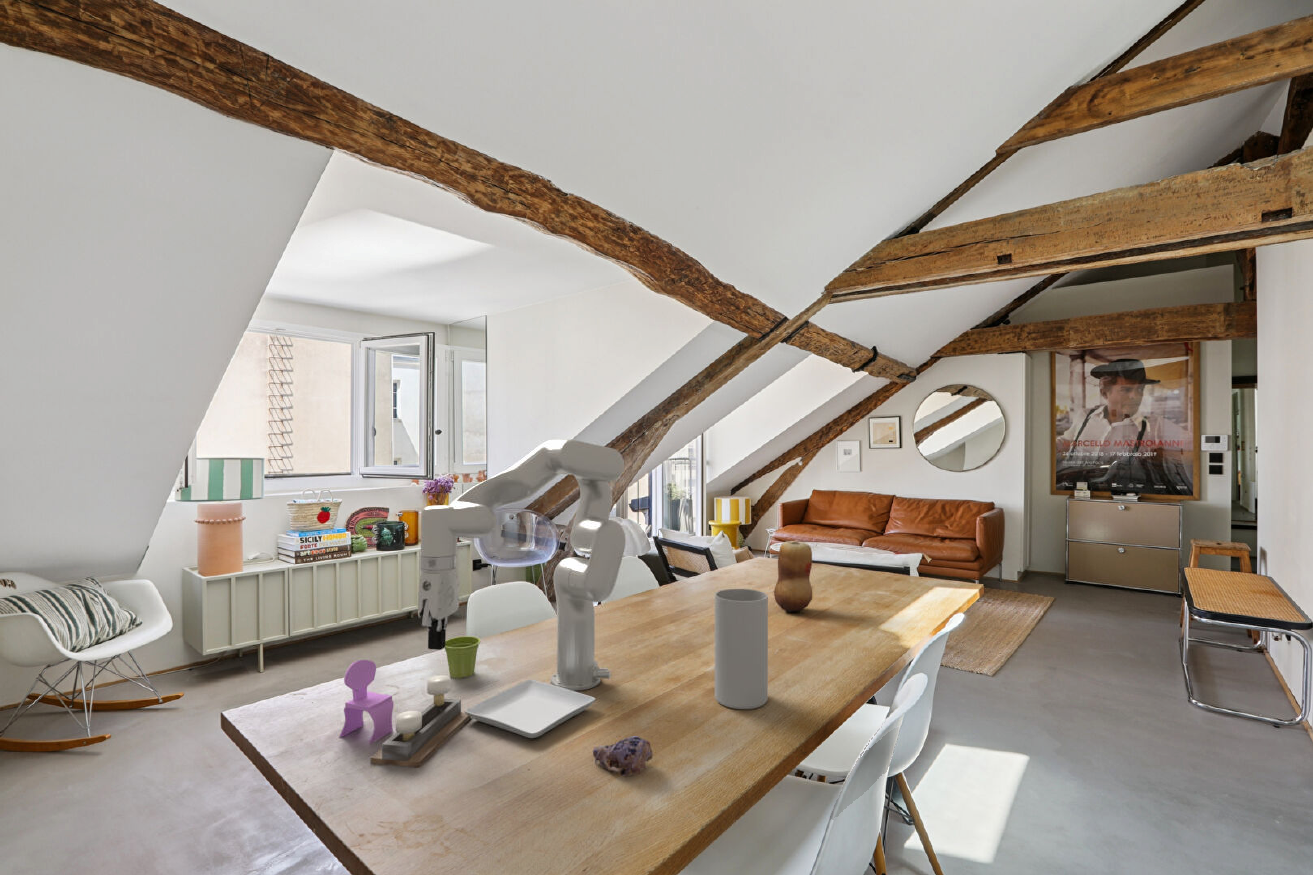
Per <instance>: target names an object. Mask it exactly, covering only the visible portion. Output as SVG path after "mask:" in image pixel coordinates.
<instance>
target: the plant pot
mask: <svg viewBox="0 0 1313 875" xmlns="http://www.w3.org/2000/svg"><path fill="white" fill-rule="evenodd" d="M480 643H481V639H480V637H477V636H472V635H471V636H470V635H469V636H468V635H467V636H455V637H453V638H452V637H451V638H449V639H447V640H445V647H444V651H445V652H446V658H447V665H448V671H449V672H448V673H449V677H450V678H451V679H452V678H453V679H460V680H461V679H463V678H466V677H467V678H469V677H471V676H473V675H474V674H475V667H476V661H477V660H476V659H477V655H478V648H479V645H480Z"/></svg>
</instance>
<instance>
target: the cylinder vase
mask: <svg viewBox="0 0 1313 875" xmlns="http://www.w3.org/2000/svg"><path fill="white" fill-rule="evenodd" d="M768 600H769V595H768V594H767V593H766V592H763V591H760V590H756V589H750V588H727V589H721V590H718V591H716V592H715V593H714V698H715V700H716V701H717V702H718V703H719V704H720V705H722V706H724V707H727V708H730V709H736V710H754V709H758V708H761V707H762V706H764V705H765V704H766V703H767V701H768V696H769V695H768V691H769V689H768V686H769V685H768V682H769V681H768V678H769V677H768V674H769V672H768V670H769V668H768V667H769V665H768V660H769V659H768V658H769V657H768V656H769V655H768V654H769V651H768V649H769V647H768V645H769V643H768V641H769V640H768V638H769V636H768V634H769V632H768V631H769V624H768V623H769V622H768V621H769V618H768V617H769V611H768V610H769V603H768V602H769V601H768Z"/></svg>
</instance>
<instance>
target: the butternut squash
mask: <svg viewBox="0 0 1313 875" xmlns="http://www.w3.org/2000/svg"><path fill="white" fill-rule="evenodd" d="M812 565H813V551H812V548H811V546H810V545H809V544H807V543H805V542H801V541H796V540H790V541H789V540H788V541H787V540H786V541H785V542H783V543H781V545H780V547H779V550H778V557H777V574H778V577H777V582H776V583H775V586H774V590H773V597H774V601H775V602H776V604H777V605H778V606H779V607H780V609H782V610H783V611H784V612H786V613H792V612H793V613H798V612H802V611H803V610H804V609H805V608H808V606H809V605H810V603H811V602H812V600H813V588H812V585H811V581H810V576H811V571H812Z"/></svg>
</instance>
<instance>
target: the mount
mask: <svg viewBox="0 0 1313 875" xmlns="http://www.w3.org/2000/svg"><path fill="white" fill-rule="evenodd" d="M420 712H421V711H420ZM421 713H422V727H421V729H419V730H418V731H416V732H415V736H413V737H412V738H411V739H410V740H409V741H408V742H403V734H402V733H398V732H395V733H394V734H393V735H392V736H390V737H389V738H388V739H387V740H386V741H384V742H382V744H381V749H379V750H378V751H377V752H375V754H373V755H372V756H371V757H370V764H377V765H378V764H379V765H385V766H386V765H388V766H399V767H409V768H410V767H411V768H420V767H421V766H422V765H423V764H424V763H425V762H426V761H427V760H429V758H431V757H432V756H433V755H434V754H435V753H436V752H437V751H438V750H439V749H440V748H441V747H442V746H443V745H444V744H445V743H446V742H447V741H449V739H450V738H451V737H453V735H455V734H456V733H457V732H458V731H459V730H460V729H461V728H462V727H463V726H464V725H465V724H466V723H467V722H468V721H469V720H470V719H472V718H471V717H469V716H468V715H467V714H466V713H465V712H464V711H463V712H462V700H461V699H457V698H456V699H454V698H444V704H443V705H440V706H435V705H434V702H433V703H431V704H430V705H428V706H427V707H426V708H425V709H424V710H423V711H422V712H421Z"/></svg>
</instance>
